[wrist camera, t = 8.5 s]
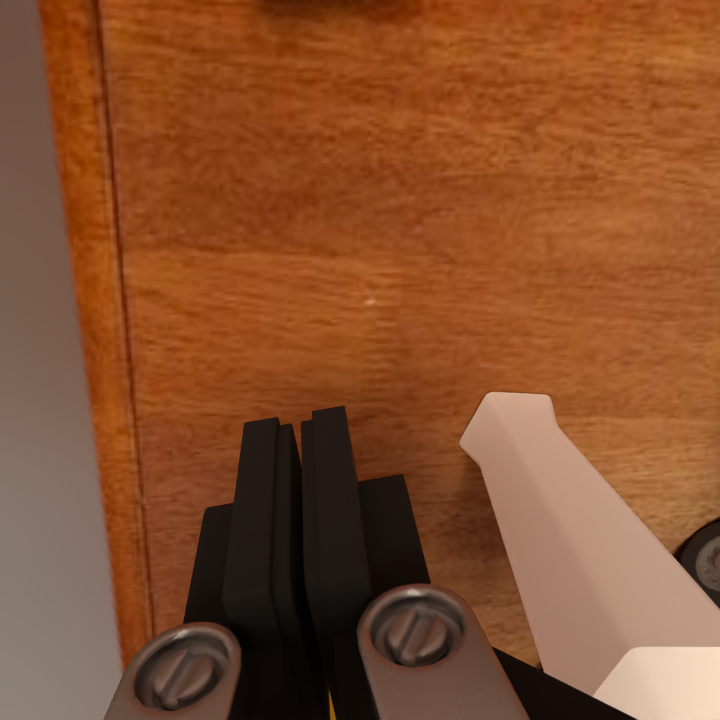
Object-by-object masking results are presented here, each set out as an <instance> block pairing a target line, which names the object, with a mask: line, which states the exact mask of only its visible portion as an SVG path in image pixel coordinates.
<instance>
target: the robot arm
mask: <svg viewBox="0 0 720 720" xmlns="http://www.w3.org/2000/svg"><path fill="white" fill-rule="evenodd" d="M312 416H313V420H308V421H302V422H301V448H302V466H301V462H300V457H299V452H298V448H297V443H296V439H295V434H294V430H293V426H292V424H291V423H290V424H284V425H280V422H279V419H278V417H275V418H269V419H263V420H257V421H251V422H246V423H245V424H244V429H243V436H242V444H241V452H240V460H239V467H238V475H237V483H236V490H235V498H234V503H231V504H225V505H219V506H213V507H208V508H207V509H206V510H205V513H204V516H203V521H202V527H201V532H200V537H199V542H198V548H197V553H196V558H195V563H194V569H193V574H192V579H191V584H190V590H189V595H188V600H187V605H186V611H185V616H184V621H183V624H182V625H179V626H176V627H174V628H171V629H169V630H167V631H164V632H162V633H161V634H159V635H158V636H156V637H155V638H153V639H152V640H150V641H149V642H147V643H146V644H145V645H144V646H143V647H142V648H141V649H140V650H139V651H138V652H137V653H136V654H135V656H134V657H133V658H132V660H131V662H130V663H129V665H128V667H127V668H126V670H125V672H124V674H123V676H122V678H121V681H120V683H119V685H118V688H117V690H116V693H115V694H114V697H113V699H112V702H111V704H110V706H109V708H108V711H107V713H106V715H105V717H104V720H331V718H330V699H329V692H330V696H331V700H332V704H333V709H334V713H335V717H336V720H638V719H636V718H634V717H632V716H630V715H628V714H626V713H624V712H622V711H620V710H618V709H616V708H614V707H612V706H610V705H608V704H606V703H604V702H602V701H600V700H598V699H596V698H594V697H592V696H590V695H588V694H586V693H584V692H582V691H580V690H578V689H576V688H574V687H572V686H570V685H568V684H566V683H564V682H562V681H560V680H558V679H556V678H554V677H552V676H550V675H548V674H546V673H544V672H542V671H540V670H538V669H536V668H534V667H532V666H530V665H528V664H526V663H524V662H522V661H520V660H518V659H516V658H514V657H512V656H510V655H508V654H506V653H504V652H502V651H500V650H498V649H496V648H494V647H492V646H491V645H490V643H489V641H488V639H487V637H486V635H485V633H484V632H483V630H482V628H481V626H480V624H479V622H478V620H477V618H476V616H475V615H474V613H473V611H472V609H471V608H470V607H469V606H468V604H467V603H466V602H465V600H464V599H463V598H462V597H460V596H459V595H457V594H456V593H454V592H452V591H451V590H449V589H446V588H443V587H440V586H437V585H434V584H431V582H430V578H429V574H428V570H427V566H426V562H425V559H424V555H423V551H422V547H421V543H420V539H419V535H418V531H417V527H416V523H415V519H414V515H413V511H412V507H411V503H410V499H409V495H408V491H407V487H406V483H405V479H404V476H403V474H399V475H393V476H387V477H381V478H376V479H370V480H364V481H358V479H357V473H356V467H355V462H354V456H353V451H352V445H351V439H350V434H349V428H348V422H347V417H346V411H345V406H339V407H333V408H327V409H322V410H316V411H312Z"/></svg>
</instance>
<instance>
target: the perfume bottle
mask: <svg viewBox="0 0 720 720" xmlns="http://www.w3.org/2000/svg"><path fill="white" fill-rule="evenodd" d="M459 445H460V447H461V448H462V449H463V450H464V451H465V452H466V453H467V454H468V455H469V456H470V457H471V458H472V459H473V460H474V461H475V462H476V463H477V464H478V465H479V466H480V468H481V471H482V475H483V478H484V481H485V484H486V487H487V491H488V494H489V497H490V500H491V503H492V507H493V510H494V513H495V516H496V519H497V523H498V526H499V529H500V532H501V535H502V539H503V542H504V545H505V548H506V552H507V555H508V558H509V561H510V564H511V568H512V571H513V574H514V577H515V580H516V584H517V587H518V590H519V593H520V596H521V600H522V603H523V606H524V609H525V612H526V616H527V619H528V622H529V625H530V628H531V632H532V635H533V638H534V641H535V645H536V648H537V651H538V654H539V657H540V661H541V664H542V667H543V670H544V673H546V674H548V675H550V676H552V677H554V678H556V679H558V680H560V681H562V682H564V683H566V684H568V685H570V686H572V687H574V688H576V689H578V690H580V691H582V692H584V693H586V694H588V695H590V696H592V697H594V698H596V699H598V700H600V701H602V702H604V703H606V704H608V705H610V706H612V707H614V708H616V709H618V710H620V711H622V712H624V713H626V714H628V715H630V716H632V717H634V718H636V719H638V720H720V609H719V608H718V607H717V605H716V604H715V603H714V602H713V601H712V600H711V599H710V597H709V596H708V595H707V594H706V593H705V592H704V591H703V590H702V588H701V587H700V586H699V585H698V584H697V583H696V582H695V581H694V579H693V578H692V577H691V576H690V575H689V574H688V573H687V571H686V570H685V569H684V568H683V567H682V566H681V565H680V564H679V562H678V561H677V560H676V559H675V558H674V557H673V556H672V555H671V553H670V552H669V551H668V550H667V549H666V548H665V547H664V546H663V544H662V543H661V542H660V541H659V540H658V539H657V538H656V536H655V535H654V534H653V533H652V532H651V531H650V530H649V529H648V527H647V526H646V525H645V524H644V523H643V522H642V521H641V520H640V518H639V517H638V516H637V515H636V514H635V513H634V512H633V511H632V509H631V508H630V507H629V506H628V505H627V504H626V503H625V501H624V500H623V499H622V498H621V497H620V496H619V495H618V494H617V492H616V491H615V490H614V489H613V488H612V487H611V486H610V485H609V483H608V482H607V481H606V480H605V479H604V478H603V477H602V475H601V474H600V473H599V472H598V471H597V470H596V469H595V468H594V466H593V465H592V464H591V463H590V462H589V461H588V460H587V459H586V457H585V456H584V455H583V454H582V453H581V452H580V451H579V450H578V448H577V447H576V446H575V445H574V444H573V443H572V442H571V440H570V439H569V438H568V437H567V436H566V435H565V434H564V433H563V431H562V430H561V429H560V428H559V427H558V426H557V422H556V418H555V414H554V409H553V405H552V401H551V398H550V397H549V396H548V395H544V394H526V393H507V392H490V393H488V394H486V396H485V397H484V398H483V400H482V402H481V404H480V406H479V407H478V409H477V411H476V413H475V414H474V416H473V418H472V420H471V421H470V423H469V425H468V427H467V428H466V430H465V432H464V434H463V435H462V437H461V439H460V442H459Z"/></svg>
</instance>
